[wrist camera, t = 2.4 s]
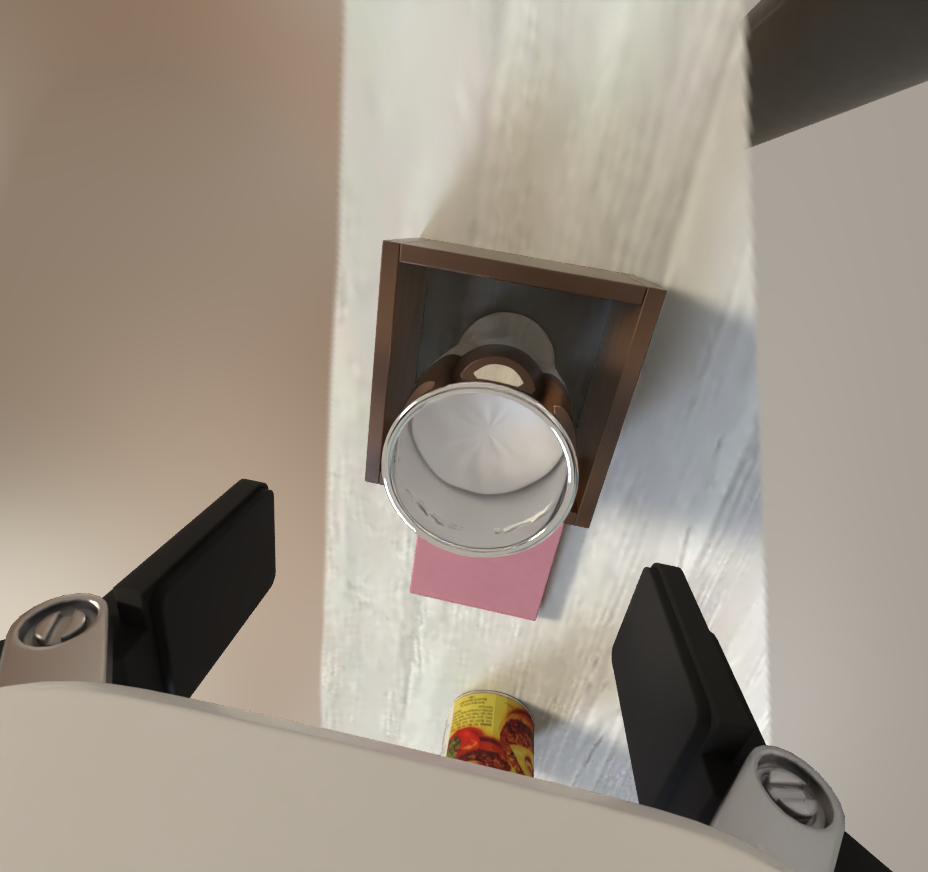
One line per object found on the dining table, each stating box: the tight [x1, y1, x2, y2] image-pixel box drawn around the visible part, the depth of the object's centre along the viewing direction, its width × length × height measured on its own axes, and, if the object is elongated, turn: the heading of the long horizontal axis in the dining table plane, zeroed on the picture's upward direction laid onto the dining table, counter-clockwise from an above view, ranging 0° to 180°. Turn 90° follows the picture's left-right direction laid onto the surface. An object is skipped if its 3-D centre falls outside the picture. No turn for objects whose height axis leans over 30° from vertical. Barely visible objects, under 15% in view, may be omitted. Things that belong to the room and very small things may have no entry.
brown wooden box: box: [365, 238, 667, 528], centre depth 26 cm, size 12×12×7 cm
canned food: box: [440, 690, 534, 778], centre depth 37 cm, size 8×8×12 cm
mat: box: [410, 523, 565, 621], centre depth 34 cm, size 11×10×1 cm
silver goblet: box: [381, 312, 579, 558], centre depth 22 cm, size 7×7×15 cm
